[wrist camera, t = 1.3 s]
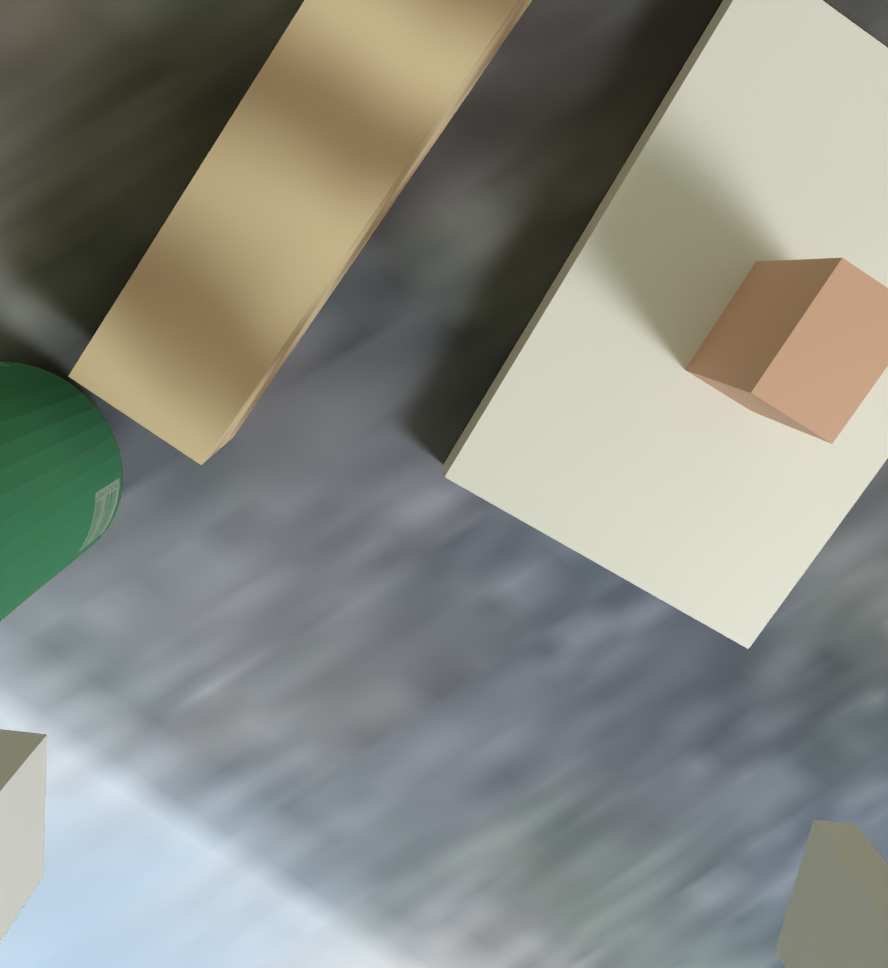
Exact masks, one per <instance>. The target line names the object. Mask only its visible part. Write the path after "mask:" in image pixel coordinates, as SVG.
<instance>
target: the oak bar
mask: <svg viewBox="0 0 888 968" xmlns="http://www.w3.org/2000/svg"><path fill="white" fill-rule="evenodd" d="M531 1H532V0H304V2H303V3H302V5H301V7H300V8H299V10H298V11H297V13H296V15H295V16H294V18H293V19H292V21H291V23H290V24H289V26H288V27H287V29H286V30H285V32H284V34H283V35H282V37H281V38H280V40H279V42H278V43H277V45H276V46H275V48H274V50H273V51H272V53H271V54H270V56H269V58H268V59H267V61H266V62H265V64H264V66H263V67H262V69H261V70H260V72H259V73H258V75H257V77H256V78H255V80H254V81H253V83H252V85H251V86H250V88H249V89H248V91H247V93H246V94H245V96H244V97H243V99H242V101H241V102H240V104H239V105H238V107H237V108H236V110H235V112H234V113H233V115H232V116H231V118H230V120H229V121H228V123H227V124H226V126H225V128H224V129H223V131H222V132H221V134H220V136H219V137H218V139H217V140H216V142H215V144H214V145H213V147H212V148H211V150H210V151H209V153H208V155H207V156H206V158H205V159H204V161H203V163H202V164H201V166H200V167H199V169H198V171H197V172H196V174H195V175H194V177H193V179H192V180H191V182H190V183H189V185H188V186H187V188H186V190H185V191H184V193H183V194H182V196H181V198H180V199H179V201H178V202H177V204H176V206H175V207H174V209H173V210H172V212H171V214H170V215H169V217H168V218H167V220H166V222H165V223H164V225H163V226H162V228H161V229H160V231H159V233H158V234H157V236H156V237H155V239H154V241H153V242H152V244H151V245H150V247H149V249H148V250H147V252H146V253H145V255H144V257H143V258H142V260H141V261H140V263H139V264H138V266H137V268H136V269H135V271H134V272H133V274H132V276H131V277H130V279H129V280H128V282H127V284H126V285H125V287H124V288H123V290H122V292H121V293H120V295H119V296H118V298H117V300H116V301H115V303H114V304H113V306H112V307H111V309H110V311H109V312H108V314H107V315H106V317H105V319H104V320H103V322H102V323H101V325H100V327H99V328H98V330H97V331H96V333H95V335H94V336H93V338H92V339H91V341H90V343H89V344H88V346H87V347H86V349H85V350H84V352H83V354H82V355H81V357H80V358H79V360H78V362H77V363H76V365H75V366H74V368H73V370H72V371H71V373H70V374H69V376H68V377H70V378H71V379H73V380H74V381H76V382H77V383H79V384H80V385H82V386H83V387H85V388H86V389H88V390H89V391H91V392H92V393H94V394H95V395H97V396H98V397H100V398H101V399H103V400H104V401H106V402H107V403H109V404H110V405H112V406H113V407H115V408H116V409H118V410H119V411H121V412H122V413H124V414H125V415H127V416H128V417H130V418H131V419H133V420H134V421H136V422H137V423H139V424H140V425H142V426H143V427H145V428H146V429H148V430H149V431H151V432H152V433H154V434H155V435H157V436H158V437H160V438H161V439H163V440H164V441H166V442H167V443H169V444H170V445H172V446H173V447H175V448H176V449H178V450H179V451H181V452H182V453H184V454H185V455H187V456H188V457H190V458H191V459H193V460H194V461H196V462H197V463H199V464H200V465H202V464H203V463H204V462H205V461H207V460H208V459H209V458H210V457H211V456H212V455H213V454H215V453H216V452H217V451H218V450H219V449H220V448H221V447H223V446H224V445H225V444H226V443H227V442H228V441H229V440H231V439H232V438H233V436H234V435H235V433H236V432H237V431H238V429H239V428H240V426H241V425H242V423H243V422H244V420H245V419H246V417H247V416H248V414H249V413H250V412H251V410H252V409H253V407H254V406H255V404H256V403H257V401H258V400H259V398H260V397H261V395H262V394H263V393H264V391H265V390H266V388H267V387H268V385H269V384H270V382H271V381H272V379H273V378H274V377H275V375H276V374H277V372H278V371H279V369H280V368H281V366H282V365H283V363H284V362H285V360H286V359H287V358H288V356H289V355H290V353H291V352H292V350H293V349H294V347H295V346H296V344H297V343H298V341H299V340H300V339H301V337H302V336H303V334H304V333H305V331H306V330H307V328H308V327H309V325H310V324H311V322H312V321H313V320H314V318H315V317H316V315H317V314H318V312H319V311H320V309H321V308H322V306H323V305H324V304H325V302H326V301H327V299H328V298H329V296H330V295H331V293H332V292H333V290H334V289H335V287H336V286H337V285H338V283H339V282H340V280H341V279H342V277H343V276H344V274H345V273H346V271H347V270H348V268H349V267H350V266H351V264H352V263H353V261H354V260H355V258H356V257H357V255H358V254H359V252H360V251H361V249H362V248H363V247H364V245H365V244H366V242H367V241H368V239H369V238H370V236H371V235H372V233H373V232H374V231H375V229H376V228H377V226H378V225H379V223H380V222H381V220H382V219H383V217H384V216H385V214H386V213H387V212H388V210H389V209H390V207H391V206H392V204H393V203H394V201H395V200H396V198H397V197H398V195H399V194H400V193H401V191H402V190H403V188H404V187H405V185H406V184H407V182H408V181H409V179H410V178H411V176H412V175H413V174H414V172H415V171H416V169H417V168H418V166H419V165H420V163H421V162H422V160H423V159H424V158H425V156H426V155H427V153H428V152H429V150H430V149H431V147H432V146H433V144H434V143H435V141H436V140H437V139H438V137H439V136H440V134H441V133H442V131H443V130H444V128H445V127H446V125H447V124H448V122H449V121H450V120H451V118H452V117H453V115H454V114H455V112H456V111H457V109H458V108H459V106H460V105H461V103H462V102H463V101H464V99H465V98H466V96H467V95H468V93H469V92H470V90H471V89H472V87H473V86H474V85H475V83H476V82H477V80H478V79H479V77H480V76H481V74H482V73H483V71H484V70H485V68H486V67H487V66H488V64H489V63H490V61H491V60H492V58H493V57H494V55H495V54H496V52H497V51H498V49H499V48H500V47H501V45H502V44H503V42H504V41H505V39H506V38H507V36H508V35H509V33H510V32H511V30H512V29H513V28H514V26H515V25H516V23H517V22H518V20H519V19H520V17H521V16H522V14H523V13H524V12H525V10H526V9H527V7H528V6H529V4H530V3H531Z"/></svg>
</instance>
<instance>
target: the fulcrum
mask: <svg viewBox="0 0 888 968" xmlns="http://www.w3.org/2000/svg"><path fill="white" fill-rule="evenodd" d="M887 458H888V48H887V47H886V46H884V45H883V44H882V43H880V42H879V41H877V40H876V39H875V38H873V37H872V36H871V35H869V34H868V33H866V32H865V31H864V30H862V29H861V28H860V27H858V26H857V25H855V24H854V23H853V22H851V21H850V20H849V19H847V18H846V17H845V16H843V15H842V14H840V13H839V12H838V11H836V10H835V9H834V8H832V7H831V6H829V5H828V4H827V3H825V2H824V1H823V0H723V1H722V3H721V4H720V6H719V8H718V9H717V11H716V13H715V14H714V16H713V18H712V19H711V21H710V23H709V24H708V26H707V28H706V29H705V31H704V33H703V34H702V36H701V38H700V39H699V41H698V43H697V44H696V46H695V48H694V49H693V51H692V53H691V54H690V56H689V58H688V59H687V61H686V63H685V64H684V66H683V68H682V69H681V71H680V73H679V74H678V76H677V77H676V79H675V81H674V82H673V84H672V86H671V87H670V89H669V91H668V92H667V94H666V96H665V97H664V99H663V101H662V102H661V104H660V106H659V107H658V109H657V111H656V112H655V114H654V116H653V117H652V119H651V121H650V122H649V124H648V126H647V127H646V129H645V131H644V132H643V134H642V136H641V137H640V139H639V141H638V142H637V144H636V146H635V147H634V149H633V151H632V152H631V154H630V156H629V157H628V159H627V160H626V162H625V164H624V165H623V167H622V169H621V170H620V172H619V174H618V175H617V177H616V179H615V180H614V182H613V184H612V185H611V187H610V189H609V190H608V192H607V194H606V195H605V197H604V199H603V200H602V202H601V204H600V205H599V207H598V209H597V210H596V212H595V214H594V215H593V217H592V219H591V220H590V222H589V224H588V225H587V227H586V229H585V230H584V232H583V234H582V235H581V237H580V238H579V240H578V242H577V243H576V245H575V247H574V248H573V250H572V252H571V253H570V255H569V257H568V258H567V260H566V262H565V263H564V265H563V267H562V268H561V270H560V272H559V273H558V275H557V277H556V278H555V280H554V282H553V283H552V285H551V287H550V288H549V290H548V292H547V293H546V295H545V297H544V298H543V300H542V302H541V303H540V305H539V307H538V308H537V310H536V312H535V313H534V315H533V316H532V318H531V320H530V321H529V323H528V325H527V326H526V328H525V330H524V331H523V333H522V335H521V336H520V338H519V340H518V341H517V343H516V345H515V346H514V348H513V350H512V351H511V353H510V355H509V356H508V358H507V360H506V361H505V363H504V365H503V366H502V368H501V370H500V371H499V373H498V375H497V376H496V378H495V380H494V381H493V383H492V385H491V386H490V388H489V390H488V391H487V393H486V395H485V396H484V398H483V399H482V401H481V403H480V404H479V406H478V408H477V409H476V411H475V413H474V414H473V416H472V418H471V419H470V421H469V423H468V424H467V426H466V428H465V429H464V431H463V433H462V434H461V436H460V438H459V439H458V441H457V443H456V444H455V446H454V448H453V449H452V451H451V453H450V454H449V456H448V458H447V459H446V461H445V463H444V464H443V468H444V476H445V477H446V478H447V479H449V480H451V481H453V482H454V483H456V484H458V485H460V486H461V487H463V488H465V489H467V490H468V491H470V492H472V493H474V494H476V495H477V496H479V497H481V498H483V499H484V500H486V501H488V502H490V503H491V504H493V505H495V506H497V507H499V508H500V509H502V510H504V511H506V512H507V513H509V514H511V515H513V516H514V517H516V518H518V519H520V520H521V521H523V522H525V523H527V524H529V525H530V526H532V527H534V528H536V529H537V530H539V531H541V532H543V533H544V534H546V535H548V536H550V537H551V538H553V539H555V540H557V541H559V542H560V543H562V544H564V545H566V546H567V547H569V548H571V549H573V550H574V551H576V552H578V553H580V554H582V555H583V556H585V557H587V558H589V559H590V560H592V561H594V562H596V563H597V564H599V565H601V566H603V567H604V568H606V569H608V570H610V571H612V572H613V573H615V574H617V575H619V576H620V577H622V578H624V579H626V580H627V581H629V582H631V583H633V584H635V585H636V586H638V587H640V588H642V589H643V590H645V591H647V592H649V593H650V594H652V595H654V596H656V597H657V598H659V599H661V600H663V601H665V602H666V603H668V604H670V605H672V606H673V607H675V608H677V609H679V610H680V611H682V612H684V613H686V614H687V615H689V616H691V617H693V618H695V619H696V620H698V621H700V622H702V623H703V624H705V625H707V626H709V627H710V628H712V629H714V630H716V631H718V632H719V633H721V634H723V635H725V636H726V637H728V638H730V639H732V640H733V641H735V642H737V643H739V644H740V645H742V646H744V647H746V648H748V649H749V648H750V646H751V645H752V643H753V642H754V641H755V639H756V638H757V637H758V635H759V634H760V632H761V631H762V630H763V628H764V627H765V626H766V624H767V623H768V621H769V620H770V619H771V617H772V616H773V615H774V613H775V612H776V611H777V609H778V608H779V606H780V605H781V604H782V602H783V601H784V600H785V598H786V597H787V595H788V594H789V593H790V591H791V590H792V589H793V587H794V586H795V584H796V583H797V582H798V580H799V579H800V578H801V576H802V575H803V573H804V572H805V571H806V569H807V568H808V567H809V565H810V564H811V563H812V561H813V560H814V558H815V557H816V556H817V554H818V553H819V552H820V550H821V549H822V547H823V546H824V545H825V543H826V542H827V541H828V539H829V538H830V536H831V535H832V534H833V532H834V531H835V530H836V528H837V527H838V525H839V524H840V523H841V521H842V520H843V519H844V517H845V516H846V515H847V513H848V512H849V510H850V509H851V508H852V506H853V505H854V504H855V502H856V501H857V499H858V498H859V497H860V495H861V494H862V493H863V491H864V490H865V488H866V487H867V486H868V484H869V483H870V482H871V480H872V479H873V478H874V476H875V475H876V473H877V472H878V471H879V469H880V468H881V467H882V465H883V464H884V462H885V461H886V460H887Z"/></svg>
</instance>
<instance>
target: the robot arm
mask: <svg viewBox="0 0 888 968" xmlns="http://www.w3.org/2000/svg"><path fill="white" fill-rule="evenodd" d="M46 757H47V735H46V734H37V733H28V732H19V731H10V730H1V729H0V943H1V941H2V940H3V938H4V937H5V935H6V934H7V932H8V930H9V929H10V927H11V926H12V924H13V923H14V921H15V919H16V918H17V916H18V915H19V913H20V912H21V910H22V908H23V907H24V905H25V904H26V902H27V901H28V899H29V897H30V896H31V894H32V893H33V891H34V890H35V888H36V886H37V885H38V883H39V882H40V880H41V879H42V877H43V873H44V834H45V796H46ZM776 951H777V953H778V955H779V957H780V959H781V961H782V963H783V965H784V967H785V968H888V865H887V864H886V862H885V861H884V860H883V858H882V857H881V856H880V855H879V853H878V852H877V851H876V850H875V848H874V847H873V846H872V845H871V843H870V842H869V841H868V839H867V838H866V837H865V836H864V834H863V833H862V832H861V831H860V829H859V828H858V827H857V825H855V824H846V823H837V822H828V821H819V820H813V823H812V827H811V830H810V834H809V837H808V841H807V844H806V848H805V851H804V854H803V858H802V861H801V865H800V868H799V872H798V875H797V879H796V882H795V885H794V889H793V892H792V896H791V899H790V903H789V906H788V909H787V913H786V916H785V920H784V923H783V927H782V930H781V934H780V937H779V940H778V944H777V947H776Z"/></svg>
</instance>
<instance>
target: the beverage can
mask: <svg viewBox="0 0 888 968" xmlns="http://www.w3.org/2000/svg"><path fill="white" fill-rule="evenodd" d="M122 485H123V468H122V463H121V457H120V452H119V449H118V446H117V443H116V440H115V437H114V435H113V433H112V431H111V429H110V427H109V425H108V423H107V421H106V420H105V418H104V417H103V415H102V414H101V413H100V411H99V410H98V408H97V407H96V406H95V405H94V404H93V403H92V402H91V401H90V400H89V399H88V398H87V397H86V396H85V394H83V393H82V392H81V391H80V390H78V389H77V388H76V387H75V386H73V385H72V384H71V383H69V382H68V381H66V380H64V379H62V378H61V377H59V376H57V375H56V374H54V373H51V372H49V371H46V370H44V369H41V368H39V367H36V366H32V365H28V364H23V363H19V362H7V361H0V621H1V620H2V619H3V618H4V617H6V616H7V615H8V614H9V613H11V612H12V611H13V610H14V609H15V608H17V607H18V606H19V605H20V604H21V603H23V602H24V601H25V600H26V599H28V598H29V597H30V596H31V595H32V594H34V593H35V592H36V591H37V590H38V589H40V588H41V587H42V586H43V585H45V584H46V583H47V582H48V581H49V580H51V579H52V578H53V577H54V576H55V575H57V574H58V573H59V572H60V571H62V570H63V569H64V568H65V567H66V566H68V565H69V564H70V563H71V562H72V561H74V560H75V559H76V558H77V557H78V556H80V555H81V554H82V553H83V552H85V551H86V550H87V549H88V548H89V547H90V546H92V545H93V544H94V543H95V542H96V541H97V540H98V539H99V538H100V537H101V536H102V534H103V533H104V532H105V531H106V529H107V528H108V527H109V525H110V523H111V521H112V519H113V518H114V516H115V513H116V511H117V508H118V505H119V502H120V498H121V492H122Z"/></svg>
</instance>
